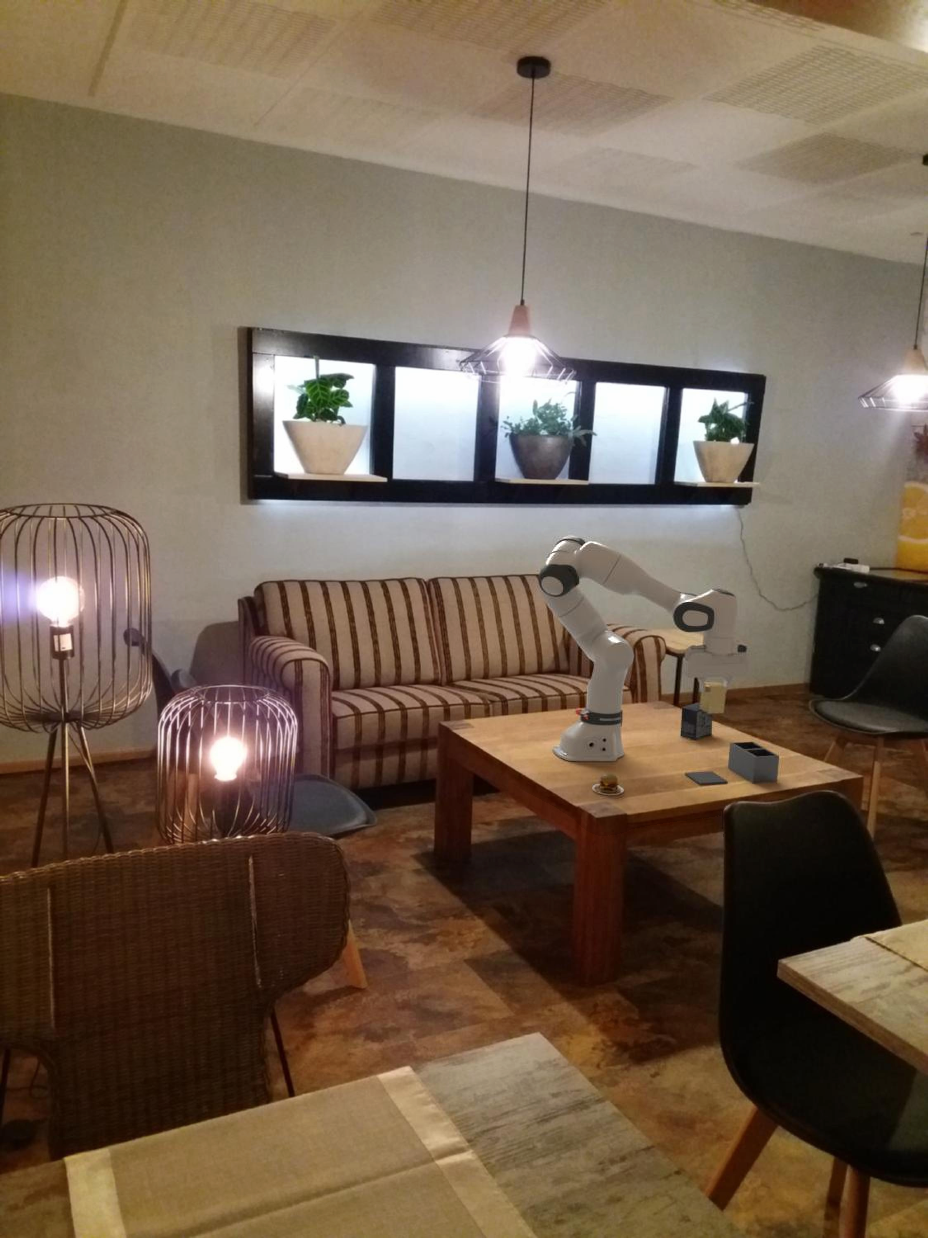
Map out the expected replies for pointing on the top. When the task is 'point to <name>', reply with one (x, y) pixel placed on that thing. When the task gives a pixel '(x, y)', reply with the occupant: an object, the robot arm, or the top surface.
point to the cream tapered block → (713, 698)
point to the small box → (695, 722)
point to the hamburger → (608, 784)
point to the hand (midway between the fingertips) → (713, 691)
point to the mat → (706, 778)
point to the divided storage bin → (753, 762)
